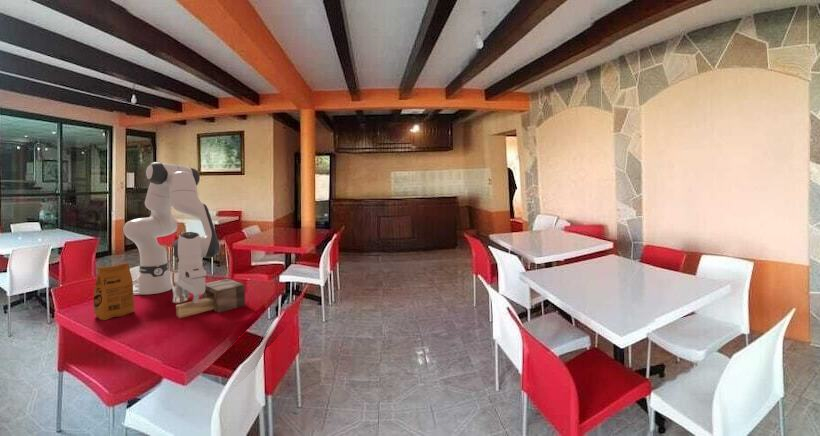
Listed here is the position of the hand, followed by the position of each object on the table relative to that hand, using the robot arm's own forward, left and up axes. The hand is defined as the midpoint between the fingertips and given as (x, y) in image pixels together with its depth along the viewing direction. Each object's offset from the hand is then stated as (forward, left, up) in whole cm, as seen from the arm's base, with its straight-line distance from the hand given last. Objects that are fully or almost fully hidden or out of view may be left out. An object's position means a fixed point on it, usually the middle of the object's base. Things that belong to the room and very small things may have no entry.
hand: (191, 300), depth 150 cm
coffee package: (-23, -21, -6) cm, 32 cm away
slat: (0, +4, -6) cm, 7 cm away
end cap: (0, +14, -6) cm, 15 cm away
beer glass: (-21, +3, -6) cm, 22 cm away
